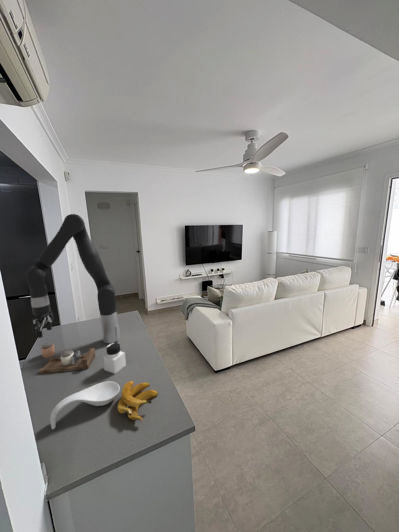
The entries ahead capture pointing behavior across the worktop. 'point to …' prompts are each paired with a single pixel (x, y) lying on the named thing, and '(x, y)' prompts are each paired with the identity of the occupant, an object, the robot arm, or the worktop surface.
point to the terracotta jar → (48, 350)
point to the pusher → (76, 358)
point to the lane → (56, 366)
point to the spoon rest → (89, 397)
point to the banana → (134, 398)
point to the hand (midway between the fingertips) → (45, 333)
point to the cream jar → (67, 358)
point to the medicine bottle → (114, 358)
